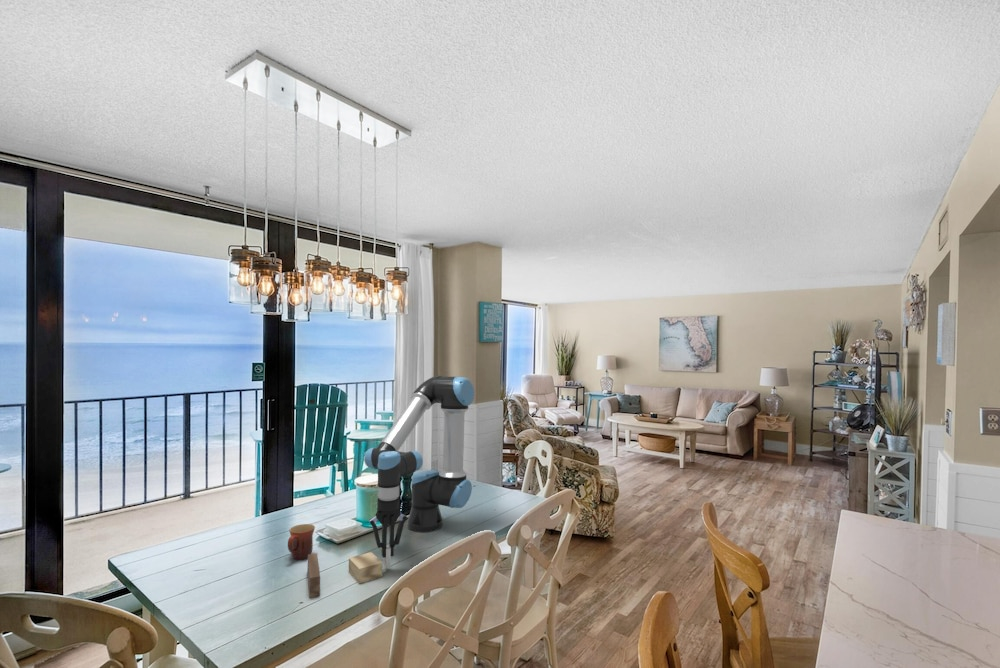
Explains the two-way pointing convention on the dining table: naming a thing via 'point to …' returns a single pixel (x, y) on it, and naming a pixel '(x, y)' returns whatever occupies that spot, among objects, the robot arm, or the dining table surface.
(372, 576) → the oak block
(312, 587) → the wooden block
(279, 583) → the dining table surface
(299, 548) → the mug
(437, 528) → the robot arm
